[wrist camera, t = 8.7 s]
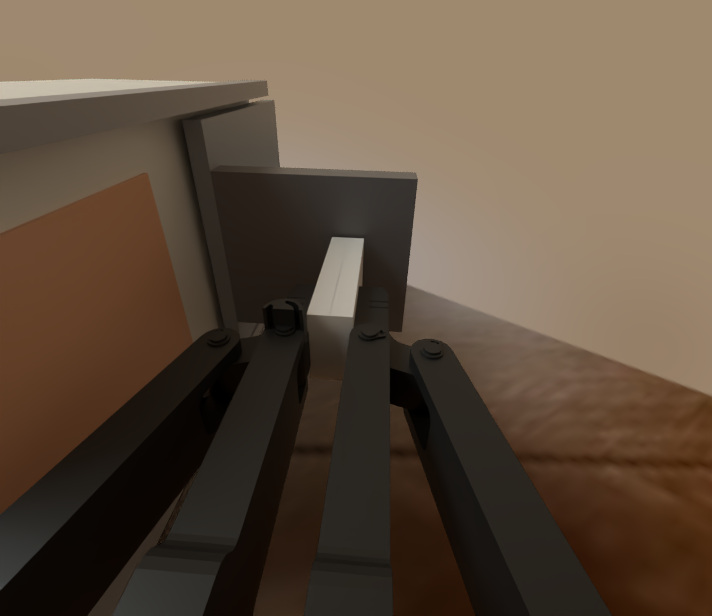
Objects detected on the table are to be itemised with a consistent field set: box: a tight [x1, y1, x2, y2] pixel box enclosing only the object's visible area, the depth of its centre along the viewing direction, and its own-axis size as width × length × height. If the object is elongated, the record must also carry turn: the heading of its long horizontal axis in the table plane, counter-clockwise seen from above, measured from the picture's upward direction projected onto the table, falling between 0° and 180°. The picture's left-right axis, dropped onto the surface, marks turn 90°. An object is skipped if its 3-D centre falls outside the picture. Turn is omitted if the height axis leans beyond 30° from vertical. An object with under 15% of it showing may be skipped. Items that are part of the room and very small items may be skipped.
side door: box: [182, 100, 418, 339], centre depth 23 cm, size 10×12×12 cm
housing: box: [0, 79, 268, 616], centre depth 17 cm, size 11×24×14 cm, turn 176°
